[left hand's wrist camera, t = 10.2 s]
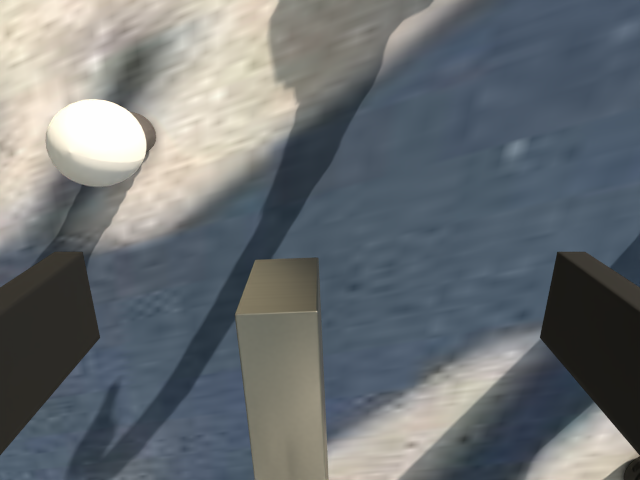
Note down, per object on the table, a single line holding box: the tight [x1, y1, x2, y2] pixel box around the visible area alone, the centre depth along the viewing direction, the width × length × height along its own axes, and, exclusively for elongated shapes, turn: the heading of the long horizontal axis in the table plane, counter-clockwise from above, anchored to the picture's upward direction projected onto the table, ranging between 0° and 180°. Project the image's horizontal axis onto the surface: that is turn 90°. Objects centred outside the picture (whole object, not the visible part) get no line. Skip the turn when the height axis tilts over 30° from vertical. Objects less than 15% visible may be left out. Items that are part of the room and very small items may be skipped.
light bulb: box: [46, 99, 156, 187], centre depth 36 cm, size 7×7×11 cm
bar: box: [235, 258, 329, 480], centre depth 31 cm, size 24×4×8 cm, turn 2°
